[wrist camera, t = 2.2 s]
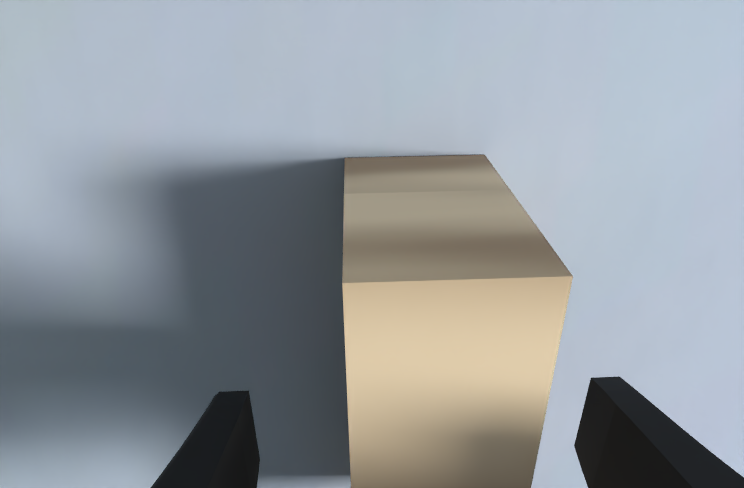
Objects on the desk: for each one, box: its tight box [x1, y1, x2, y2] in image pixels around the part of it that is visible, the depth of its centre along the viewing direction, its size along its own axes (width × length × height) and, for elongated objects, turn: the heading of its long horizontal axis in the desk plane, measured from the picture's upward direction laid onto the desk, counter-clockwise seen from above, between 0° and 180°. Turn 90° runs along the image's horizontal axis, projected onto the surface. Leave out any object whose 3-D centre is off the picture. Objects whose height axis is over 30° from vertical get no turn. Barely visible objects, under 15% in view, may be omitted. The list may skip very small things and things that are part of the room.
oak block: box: [342, 155, 573, 488], centre depth 11 cm, size 10×3×5 cm, turn 1°
